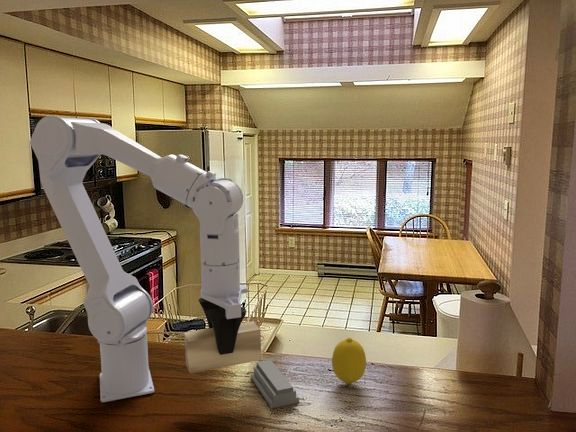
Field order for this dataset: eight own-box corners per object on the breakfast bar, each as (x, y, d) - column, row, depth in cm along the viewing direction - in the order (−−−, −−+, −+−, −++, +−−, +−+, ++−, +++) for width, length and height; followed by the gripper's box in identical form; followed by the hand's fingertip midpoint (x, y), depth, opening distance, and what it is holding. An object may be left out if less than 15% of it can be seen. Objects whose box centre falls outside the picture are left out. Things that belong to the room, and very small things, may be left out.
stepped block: (251, 378, 81) (251, 363, 81) (276, 373, 83) (276, 358, 83) (271, 408, 72) (271, 391, 72) (299, 402, 74) (299, 386, 73)
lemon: (324, 382, 80) (325, 337, 79) (349, 372, 83) (349, 328, 82) (348, 396, 75) (348, 348, 74) (372, 385, 79) (373, 339, 77)
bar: (185, 363, 74) (184, 332, 73) (254, 350, 78) (253, 321, 77) (190, 373, 70) (188, 341, 70) (261, 359, 74) (260, 329, 74)
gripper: (261, 270, 66) (262, 363, 68) (233, 248, 80) (235, 326, 82) (211, 276, 64) (214, 372, 66) (190, 252, 77) (193, 333, 79)
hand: (222, 347), depth 74 cm, fingers closed on bar, 3 cm apart
